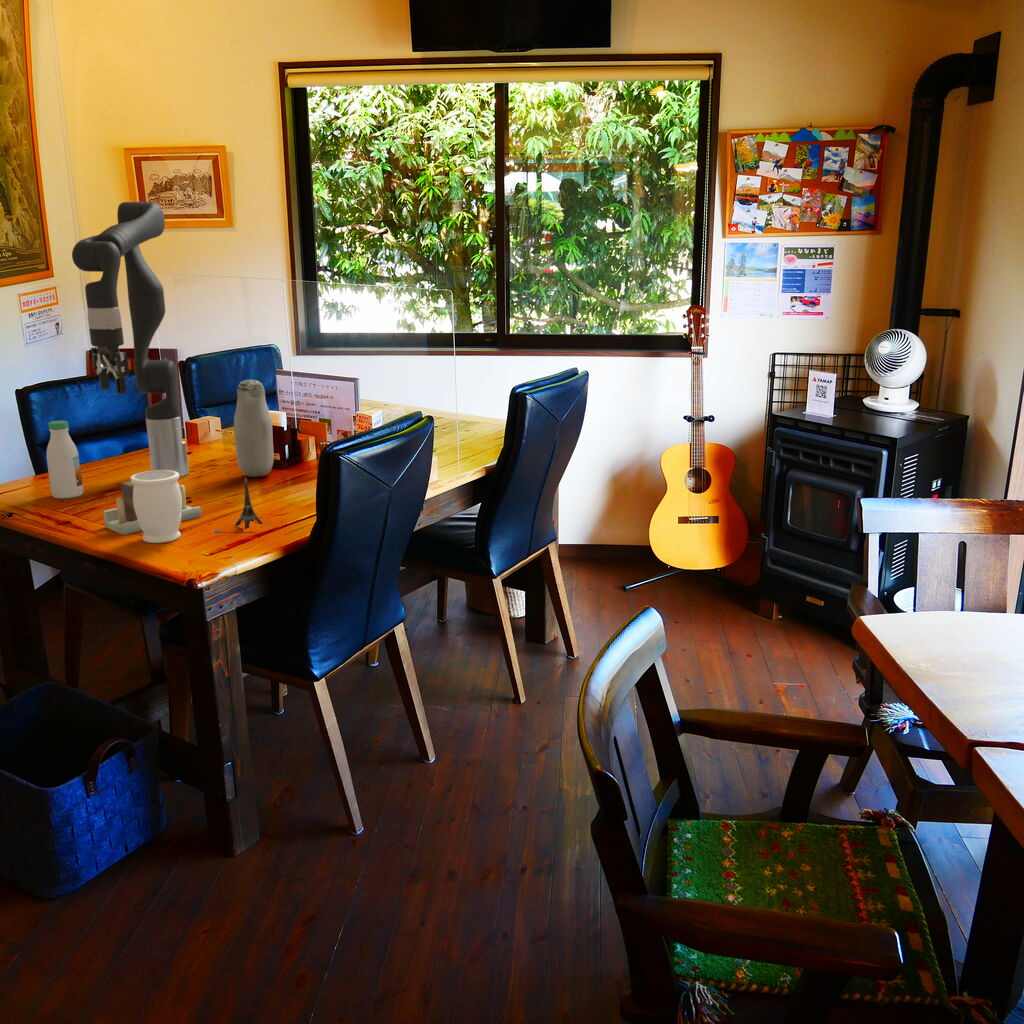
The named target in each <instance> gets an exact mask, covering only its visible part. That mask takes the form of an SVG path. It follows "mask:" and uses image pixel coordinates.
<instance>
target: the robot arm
mask: <svg viewBox="0 0 1024 1024" xmlns="http://www.w3.org/2000/svg"><path fill="white" fill-rule="evenodd" d="M116 214H117V223H116V224H114V225H111V226H109V227H107V228H105V230H103V231H101V233H99V234H97V235H92V236H89V237H85V238H83V239H81V240H79V241H77V243H75V245H74V247H73V249H72V252H71V258H72V261H73V264H74V265H75V266H76V267H77V268H78V269H79V270H80V271H83V272H87V273H88V272H91V273H92V272H98V273H100V272H102V275H101V278H100V279H99V280H97V281H91V282H89V283H86V285H85V287H84V288H85V289H84V290H85V291H84V292H85V300H86V307H87V324H88V331H89V339H90V345H91V346H93V347H91V348H90V353H91V361H92V370H93V371H94V372H96V374H97V375H98V381H99V387H100V390H104V391H105V390H109V389H111V385H110V375H109V373H110V372H111V373H112V375H113V376H114V378H115V379H114V383H115V390H116V394H118V395H124V394H126V393H127V383H126V378H128V377H130V376H131V375H130V368H129V367H130V366H129V360H128V354H127V352H126V351H120V346H123V345H124V343H125V341H124V331H123V325H122V324H123V323H122V315H121V312H120V307H119V300H118V293H117V292H118V291H117V289H118V279H119V274H120V273H119V272H120V267H121V260H122V259H121V258H124V264H125V273H126V274H125V276H126V286H127V297H128V306H129V308H128V309H129V313H130V315H129V316H130V321H131V328H132V338H133V339H132V340H133V359H134V361H133V362H134V377H135V384H136V388H137V390H138V391H139V393H141V394H165V395H164V396H165V397H164V399H162V400H160V401H158V402H157V403H155V404H154V403H153V404H151V405H149V406H147V407H146V408H145V409H144V410H145V411H144V415H145V422H146V423H145V424H146V431H147V440H148V449H149V450H148V452H149V459H150V468H151V470H150V471H153V470H171V471H176V472H178V473H179V478H181V477H184V476H186V475H189V474H190V472H189V460H188V451H187V443H186V441H185V440H184V441H183V432H182V420H181V412H180V411H181V410H180V400H179V380H178V379H179V378H178V370H177V365H176V364H175V362H174V361H173V360H171V359H170V360H169V359H164V360H162V359H161V360H160V359H154V360H153V359H152V360H149V358H148V355H149V348H150V346H151V343H152V340H153V338H154V336H155V333H156V332H157V331H158V329H159V327H160V325H161V324H162V321H163V320H164V317H165V315H166V305H165V304H166V303H165V302H166V301H165V293H164V292H165V291H164V287H163V285H162V282H161V281H160V280H159V278H158V277H157V275H156V274H155V273H154V271H153V270H152V269H151V268H150V266H149V265H148V263H147V261H146V259H145V258H144V256H143V254H142V252H141V248H140V245H141V244H143V243H145V242H148V241H149V240H152V239H155V238H158V237H160V236H161V235H162V234H163V232H164V229H165V225H166V220H165V214H164V211H163V209H162V207H161V206H160V205H159V204H158V203H156V202H151V201H124V202H121V203H119V205H118V207H117V213H116ZM109 371H110V372H109Z"/></svg>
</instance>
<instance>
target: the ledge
mask: <svg viewBox="0 0 1024 1024" xmlns="http://www.w3.org/2000/svg"><path fill="white" fill-rule="evenodd" d="M179 487H180V490H181V496H182V510H181V522H183V521H189V520H193V519H196V518H197V519H198V518H201V517H202V509H201V506H194V507H192V506H189V505H187V500H186V499H187V498H186V487H185V485H184V484H179ZM115 501H116V508H111V509H107V510H103V517H104V526H105V528H107V529H109V530H111V531H114V532H116V533H118V534H121V535H123V536H125V535H129V534H134V533H138V532H143V531H142V529H141V527H140V525H139V523H138V520H136V521H132V522H131V521H128V520H126V516H125V507H124V499H123V497H117V498H116V499H115Z"/></svg>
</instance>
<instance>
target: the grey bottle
mask: <svg viewBox="0 0 1024 1024" xmlns="http://www.w3.org/2000/svg"><path fill="white" fill-rule="evenodd" d="M236 394H237V399H236V408H235V412H234V417H233V429H234V434H233V435H234V442H235V451H236V460H237V466H238V468H239V469H240V471H241V473H243V474H244V475H246V476H248V477H251V478H259V476H260V477H264V476H266V475H268V474H269V473H270V472H271V471H272V468H273V465H274V460H275V459H274V457H275V456H274V442H273V441H274V439H273V437H274V435H273V422H272V417H271V414H270V411H269V407H268V405H267V401H266V391H265V387H264V385H263V383H262V382H261V381H259V380H256V379H245V380H242V381H241V382H239V383H238V386H237V389H236Z"/></svg>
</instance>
